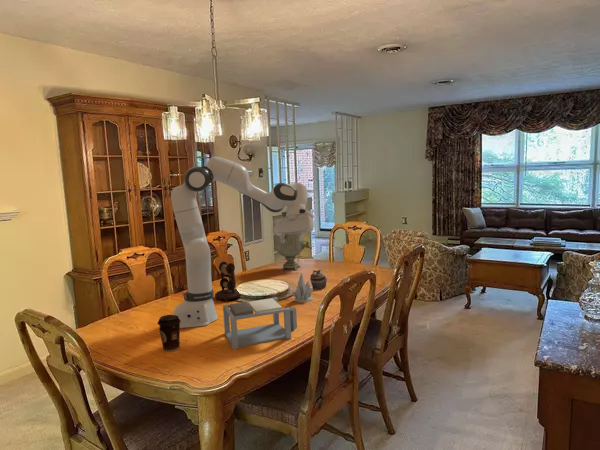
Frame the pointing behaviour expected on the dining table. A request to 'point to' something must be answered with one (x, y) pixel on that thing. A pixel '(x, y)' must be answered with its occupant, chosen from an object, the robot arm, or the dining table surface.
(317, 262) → the dining table surface
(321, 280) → the cupcake
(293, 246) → the samovar
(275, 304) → the trapdoor
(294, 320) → the stone
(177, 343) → the coffee cup
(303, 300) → the crystal
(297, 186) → the robot arm
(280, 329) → the frame
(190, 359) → the dining table surface
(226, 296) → the coffee pod holder
